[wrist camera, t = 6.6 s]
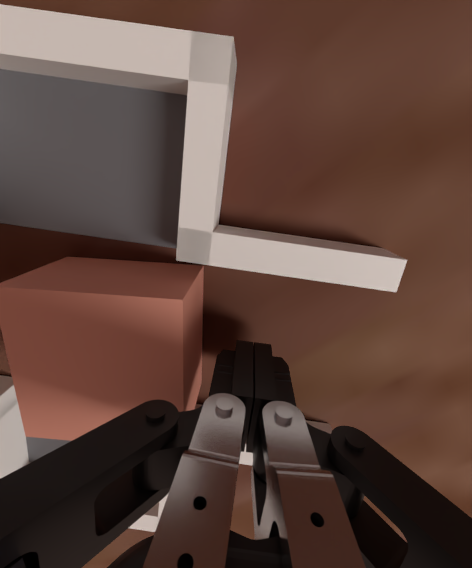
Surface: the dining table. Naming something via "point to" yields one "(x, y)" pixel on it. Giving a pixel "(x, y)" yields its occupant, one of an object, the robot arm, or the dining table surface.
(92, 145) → the box
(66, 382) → the block
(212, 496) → the robot arm
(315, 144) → the dining table surface
